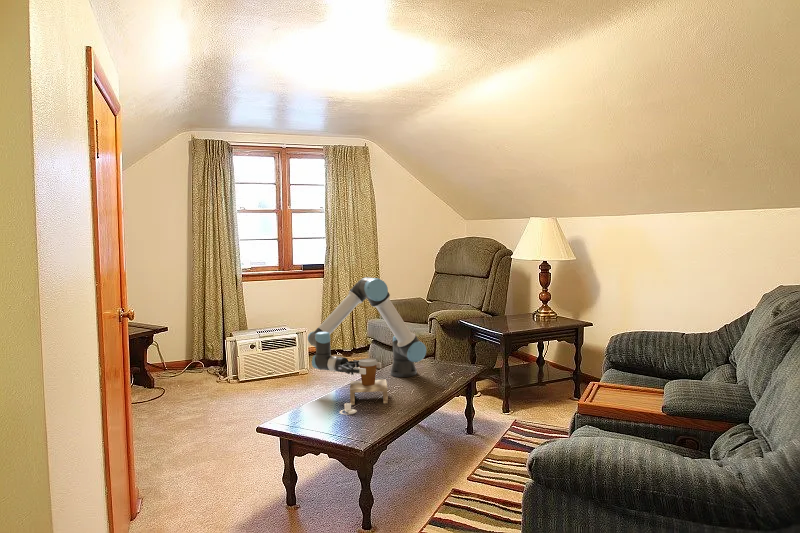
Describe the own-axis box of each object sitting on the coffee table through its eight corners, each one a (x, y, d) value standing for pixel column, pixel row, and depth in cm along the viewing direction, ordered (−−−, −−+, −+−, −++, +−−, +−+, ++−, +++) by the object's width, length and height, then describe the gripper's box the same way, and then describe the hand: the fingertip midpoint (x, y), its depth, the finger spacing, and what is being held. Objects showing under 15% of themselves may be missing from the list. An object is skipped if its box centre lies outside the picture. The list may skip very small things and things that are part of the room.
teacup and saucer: (357, 415, 257) (357, 406, 257) (340, 416, 256) (340, 407, 256) (355, 409, 266) (355, 400, 266) (338, 410, 264) (338, 402, 264)
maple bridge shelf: (386, 393, 288) (385, 379, 288) (387, 403, 272) (387, 387, 272) (350, 395, 287) (350, 380, 287) (350, 405, 271) (350, 389, 271)
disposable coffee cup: (375, 386, 274) (374, 362, 273) (356, 386, 276) (355, 362, 275) (380, 381, 283) (379, 358, 283) (361, 381, 285) (361, 357, 285)
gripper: (353, 366, 299) (386, 370, 288) (323, 377, 278) (359, 382, 267) (352, 352, 298) (386, 355, 288) (323, 362, 277) (358, 366, 266)
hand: (373, 368), depth 277 cm, fingers open, 13 cm apart
